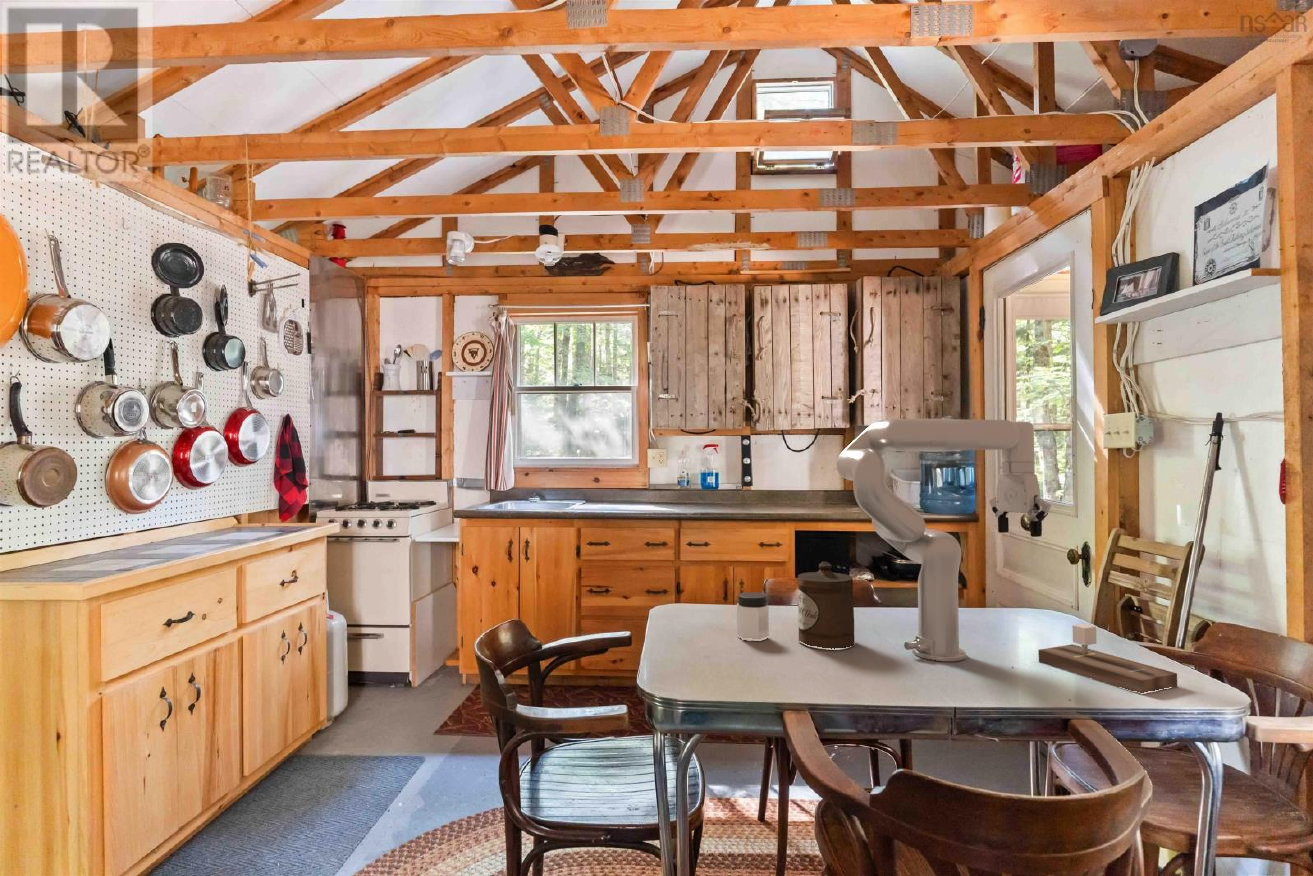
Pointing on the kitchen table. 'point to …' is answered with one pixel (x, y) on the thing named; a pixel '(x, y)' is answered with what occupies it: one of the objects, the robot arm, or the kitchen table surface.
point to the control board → (1108, 668)
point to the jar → (752, 615)
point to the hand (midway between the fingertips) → (1019, 534)
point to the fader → (1084, 636)
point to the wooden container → (826, 608)
